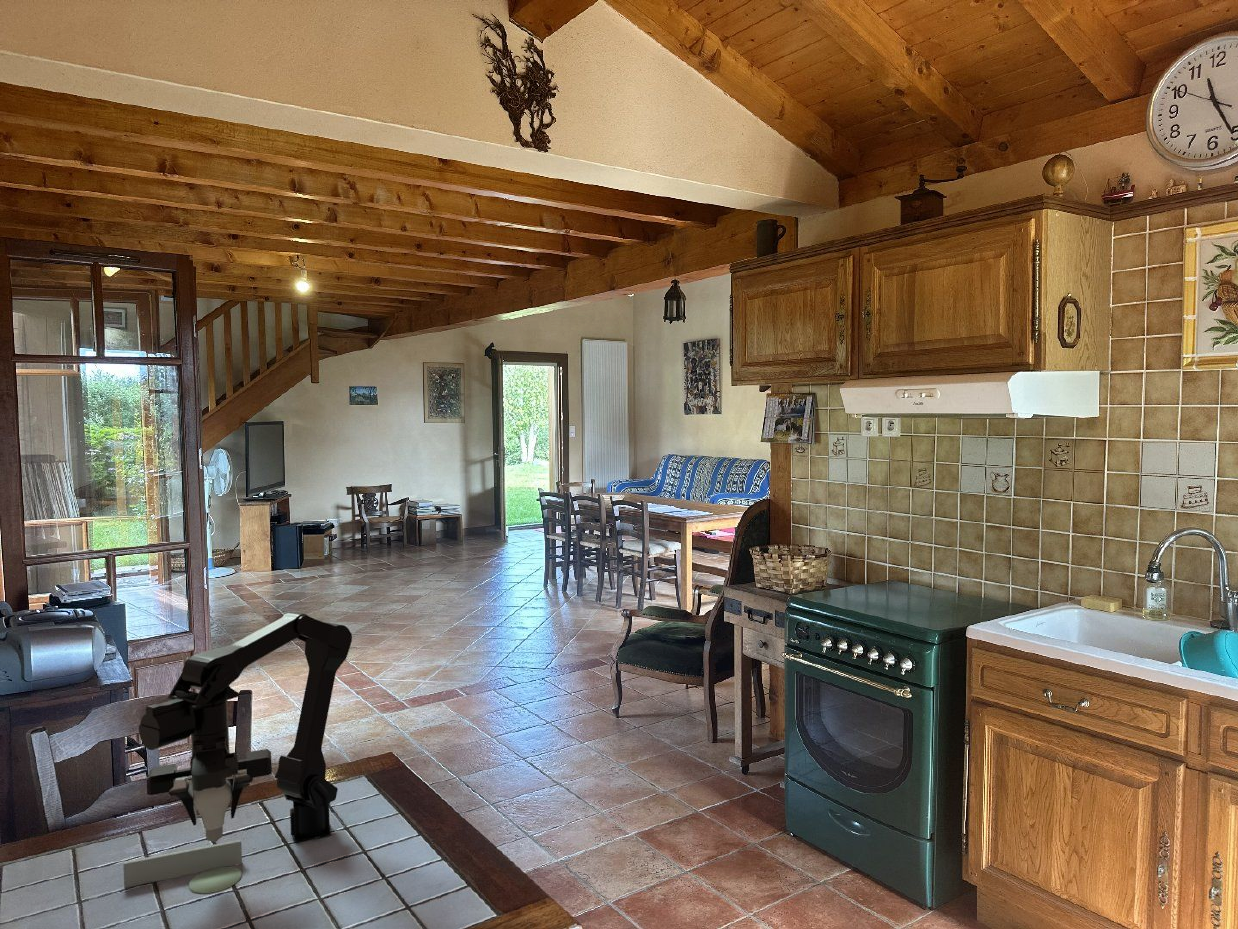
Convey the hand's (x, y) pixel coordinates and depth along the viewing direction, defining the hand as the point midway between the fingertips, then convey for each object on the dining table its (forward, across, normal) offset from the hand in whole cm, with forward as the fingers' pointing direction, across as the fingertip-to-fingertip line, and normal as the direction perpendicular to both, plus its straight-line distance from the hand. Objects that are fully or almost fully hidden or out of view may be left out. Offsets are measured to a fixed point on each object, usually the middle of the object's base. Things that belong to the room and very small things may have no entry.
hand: (213, 821), depth 142 cm
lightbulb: (+4, 0, 0) cm, 4 cm away
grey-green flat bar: (+10, -5, +5) cm, 12 cm away
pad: (+10, 0, 0) cm, 10 cm away
